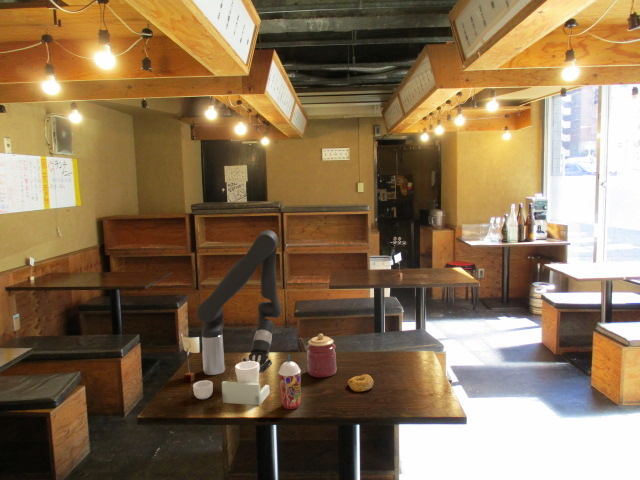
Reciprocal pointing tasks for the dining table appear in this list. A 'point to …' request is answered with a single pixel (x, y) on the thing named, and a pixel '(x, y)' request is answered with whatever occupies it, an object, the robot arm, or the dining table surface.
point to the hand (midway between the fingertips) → (252, 381)
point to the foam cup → (247, 372)
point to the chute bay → (244, 393)
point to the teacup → (203, 389)
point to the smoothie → (290, 384)
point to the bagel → (361, 383)
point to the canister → (321, 356)
